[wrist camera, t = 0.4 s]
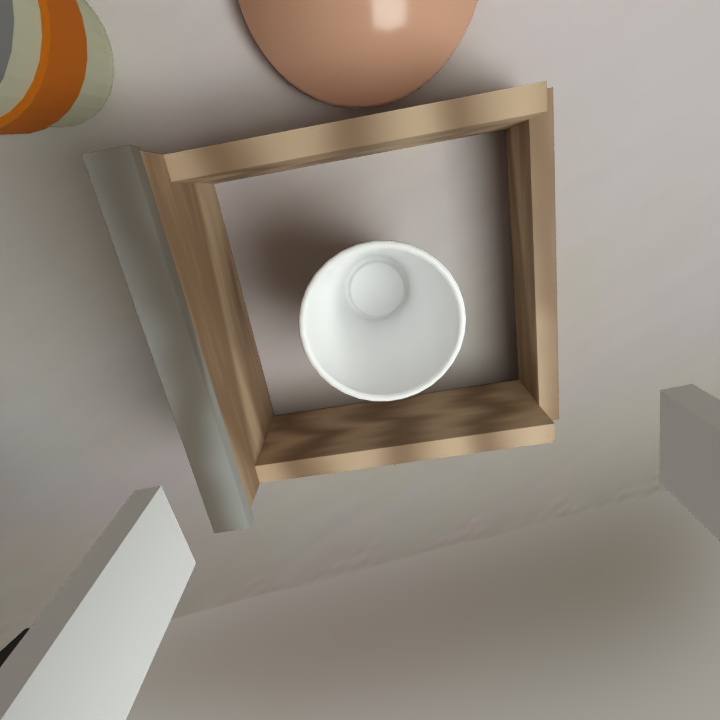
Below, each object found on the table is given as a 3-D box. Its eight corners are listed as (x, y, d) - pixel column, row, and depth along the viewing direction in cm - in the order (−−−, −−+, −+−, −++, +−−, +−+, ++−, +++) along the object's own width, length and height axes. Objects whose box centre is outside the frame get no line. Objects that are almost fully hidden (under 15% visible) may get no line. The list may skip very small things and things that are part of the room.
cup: (299, 248, 36) (273, 271, 26) (420, 208, 35) (444, 216, 25) (338, 359, 39) (329, 420, 29) (450, 327, 38) (482, 377, 28)
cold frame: (257, 433, 42) (214, 533, 30) (182, 167, 34) (81, 154, 22) (536, 392, 40) (611, 480, 28) (525, 102, 32) (623, 49, 20)
